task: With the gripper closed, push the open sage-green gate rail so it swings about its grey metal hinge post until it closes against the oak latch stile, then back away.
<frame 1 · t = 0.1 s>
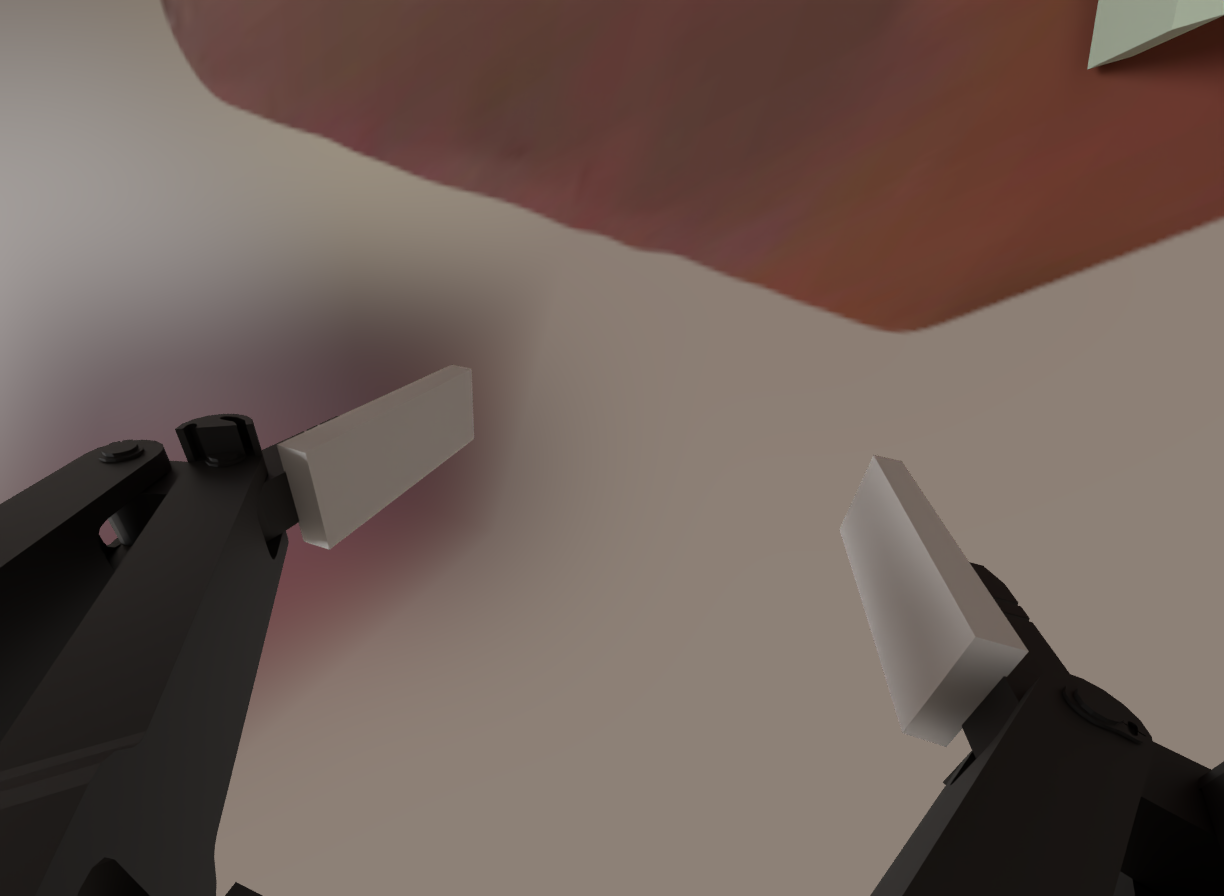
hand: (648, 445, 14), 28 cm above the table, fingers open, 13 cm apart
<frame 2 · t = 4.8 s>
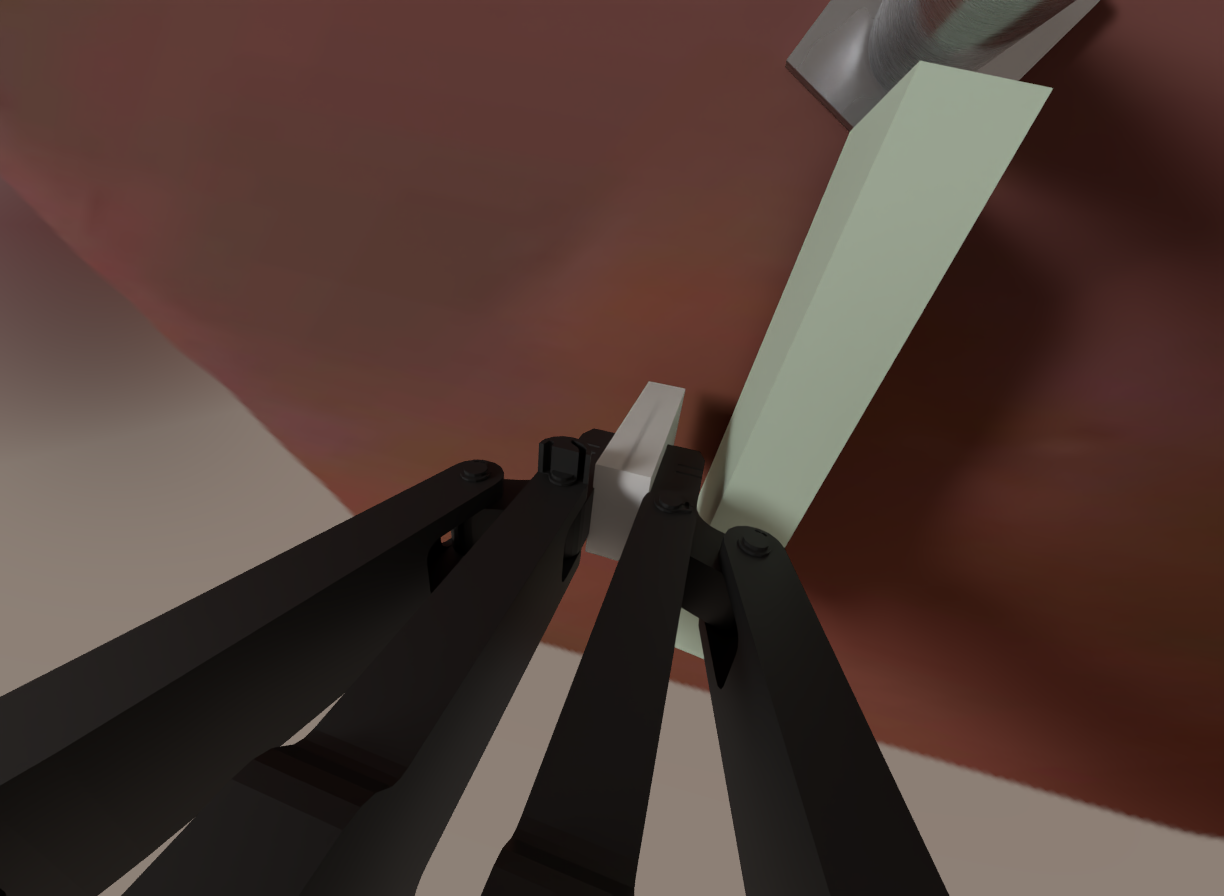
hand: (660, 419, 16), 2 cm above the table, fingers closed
gate: (778, 418, 13), point 4 cm above the table, hinge at -65.4°, touching gripper
hinge post: (927, 34, 12), on the table
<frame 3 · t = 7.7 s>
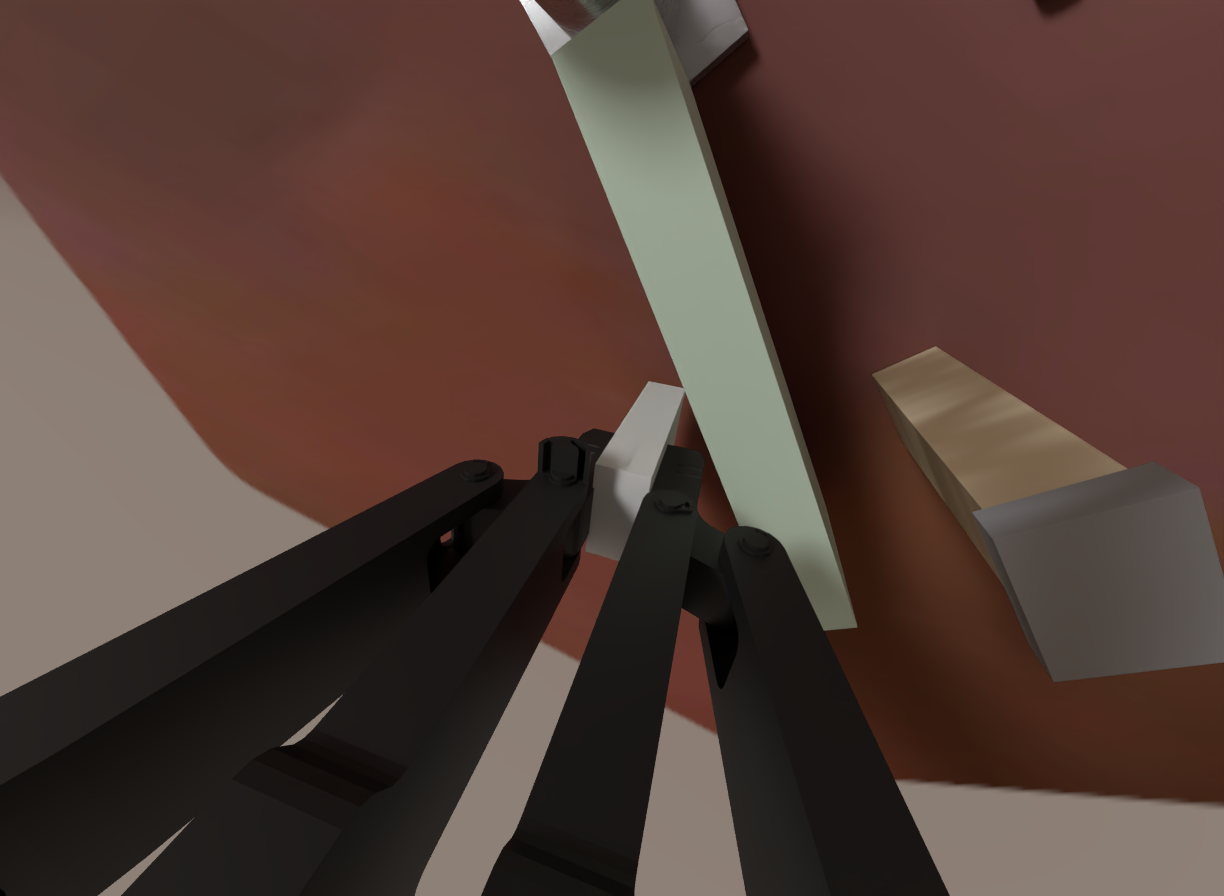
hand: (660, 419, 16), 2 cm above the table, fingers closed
latch stile: (918, 397, 15), on the table
gate: (735, 359, 13), point 4 cm above the table, hinge at -8.2°, touching gripper
hinge post: (632, 20, 13), on the table
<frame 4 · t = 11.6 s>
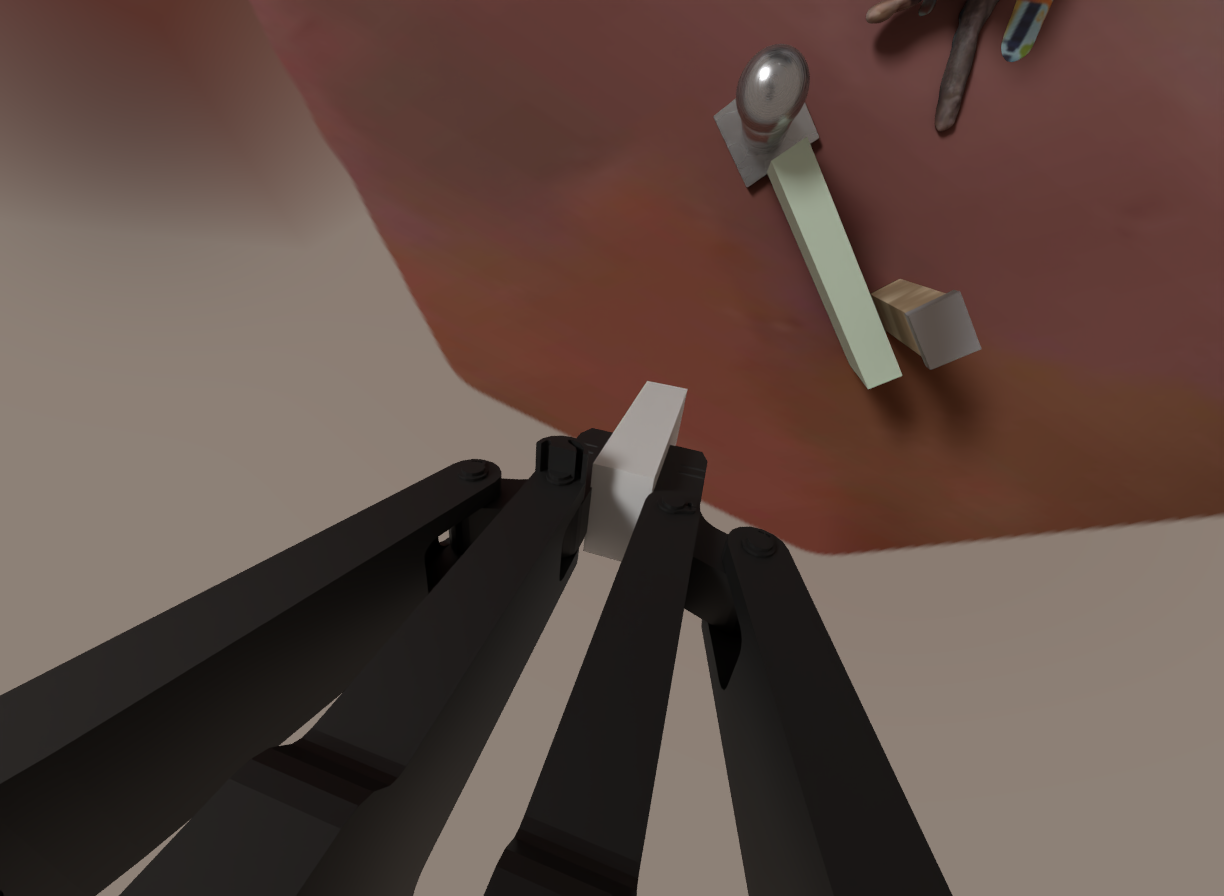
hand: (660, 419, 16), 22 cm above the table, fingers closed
latch stile: (892, 305, 32), on the table
gate: (832, 270, 29), point 4 cm above the table, hinge at -1.0°
hinge post: (765, 128, 30), on the table
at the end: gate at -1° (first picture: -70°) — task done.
